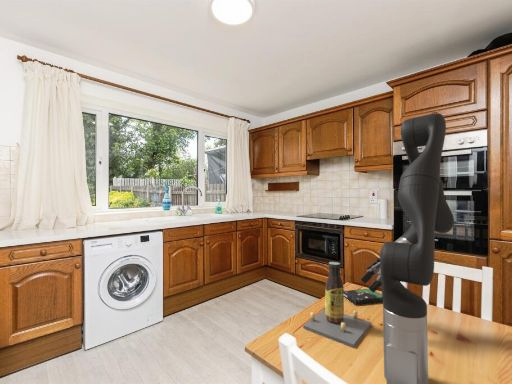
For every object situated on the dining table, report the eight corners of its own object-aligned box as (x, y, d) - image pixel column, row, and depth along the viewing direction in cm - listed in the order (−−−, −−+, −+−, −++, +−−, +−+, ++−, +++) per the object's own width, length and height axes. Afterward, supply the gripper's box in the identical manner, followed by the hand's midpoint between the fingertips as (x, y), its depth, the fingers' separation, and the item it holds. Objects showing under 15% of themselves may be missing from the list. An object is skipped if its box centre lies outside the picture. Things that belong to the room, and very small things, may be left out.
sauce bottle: (331, 325, 85) (329, 266, 86) (322, 316, 91) (320, 261, 92) (348, 322, 87) (346, 264, 87) (338, 314, 93) (336, 260, 93)
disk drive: (355, 307, 102) (386, 303, 106) (355, 300, 102) (386, 296, 106) (341, 297, 112) (370, 293, 116) (341, 291, 113) (370, 287, 116)
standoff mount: (353, 347, 74) (353, 335, 74) (303, 328, 85) (303, 318, 85) (371, 325, 87) (371, 315, 87) (325, 310, 98) (325, 301, 98)
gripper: (383, 241, 95) (352, 271, 96) (401, 250, 81) (365, 285, 82) (398, 256, 94) (367, 286, 95) (419, 267, 80) (382, 302, 81)
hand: (366, 285), depth 88 cm, fingers open, 8 cm apart
